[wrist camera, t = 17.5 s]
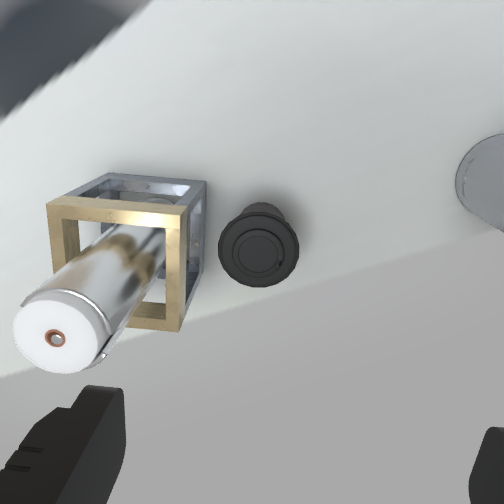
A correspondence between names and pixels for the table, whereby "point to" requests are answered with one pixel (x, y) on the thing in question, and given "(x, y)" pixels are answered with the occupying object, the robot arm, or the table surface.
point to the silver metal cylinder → (90, 298)
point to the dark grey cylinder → (258, 247)
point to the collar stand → (143, 214)
